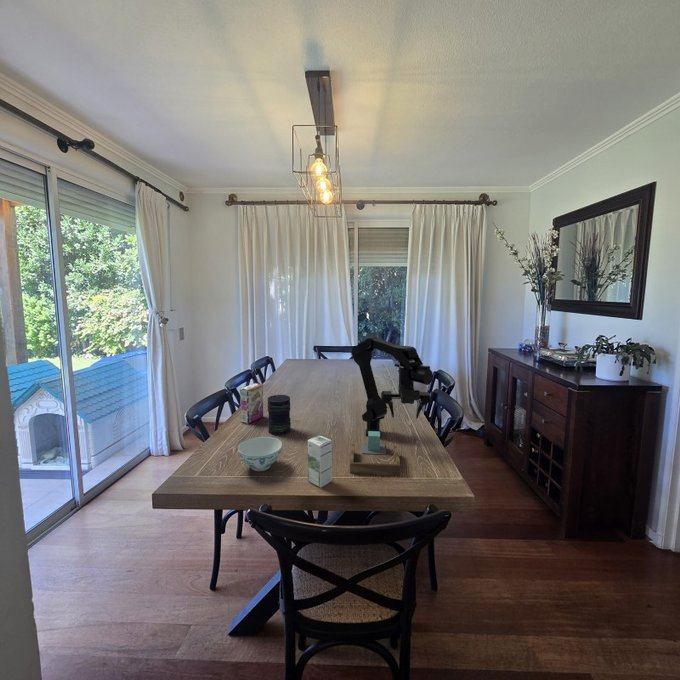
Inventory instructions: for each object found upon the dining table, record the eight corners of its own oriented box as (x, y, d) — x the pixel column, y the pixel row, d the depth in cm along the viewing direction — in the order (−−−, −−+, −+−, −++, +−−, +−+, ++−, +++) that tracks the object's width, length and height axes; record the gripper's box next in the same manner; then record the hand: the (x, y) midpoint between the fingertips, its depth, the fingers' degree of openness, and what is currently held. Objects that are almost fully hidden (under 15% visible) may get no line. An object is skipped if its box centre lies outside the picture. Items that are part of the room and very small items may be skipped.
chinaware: (232, 463, 126) (232, 443, 125) (271, 452, 135) (271, 433, 134) (248, 482, 114) (247, 460, 113) (289, 469, 123) (289, 448, 122)
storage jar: (295, 431, 155) (294, 398, 153) (276, 437, 148) (275, 403, 146) (282, 424, 162) (281, 393, 160) (263, 430, 155) (262, 397, 153)
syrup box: (332, 481, 115) (332, 439, 113) (319, 488, 111) (319, 445, 109) (320, 474, 119) (320, 434, 117) (307, 482, 115) (306, 439, 113)
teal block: (367, 445, 141) (368, 431, 140) (379, 445, 140) (379, 431, 140) (367, 450, 136) (368, 435, 135) (379, 451, 136) (380, 436, 135)
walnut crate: (351, 452, 135) (351, 444, 135) (396, 454, 134) (396, 445, 133) (349, 473, 120) (350, 463, 120) (400, 475, 119) (400, 465, 119)
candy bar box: (248, 424, 162) (247, 390, 160) (240, 422, 164) (239, 388, 162) (264, 416, 172) (263, 384, 170) (256, 414, 174) (255, 382, 172)
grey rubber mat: (362, 443, 143) (362, 442, 143) (384, 444, 143) (384, 443, 142) (362, 453, 134) (362, 453, 134) (385, 454, 134) (385, 454, 134)
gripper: (382, 384, 129) (381, 425, 131) (434, 385, 128) (432, 426, 130) (381, 376, 140) (380, 414, 142) (429, 377, 139) (427, 415, 141)
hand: (404, 417), depth 139 cm, fingers open, 9 cm apart
